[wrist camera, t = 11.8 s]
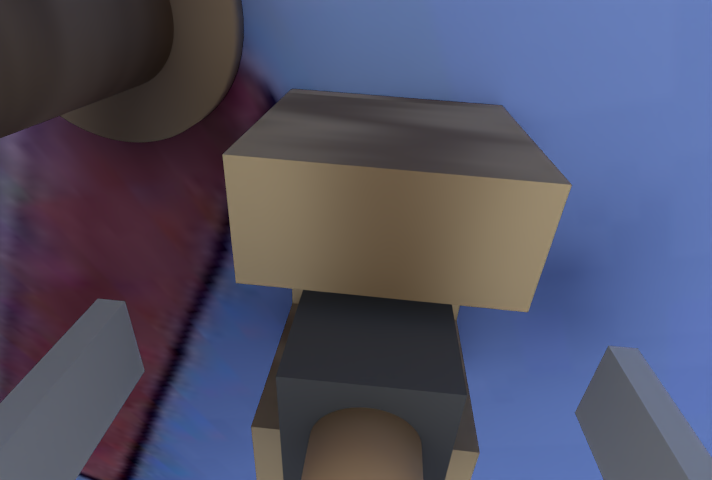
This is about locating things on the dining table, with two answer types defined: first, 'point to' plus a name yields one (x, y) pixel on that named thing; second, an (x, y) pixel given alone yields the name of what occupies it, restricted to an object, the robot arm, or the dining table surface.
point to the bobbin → (117, 64)
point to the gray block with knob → (369, 389)
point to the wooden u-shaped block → (389, 216)
